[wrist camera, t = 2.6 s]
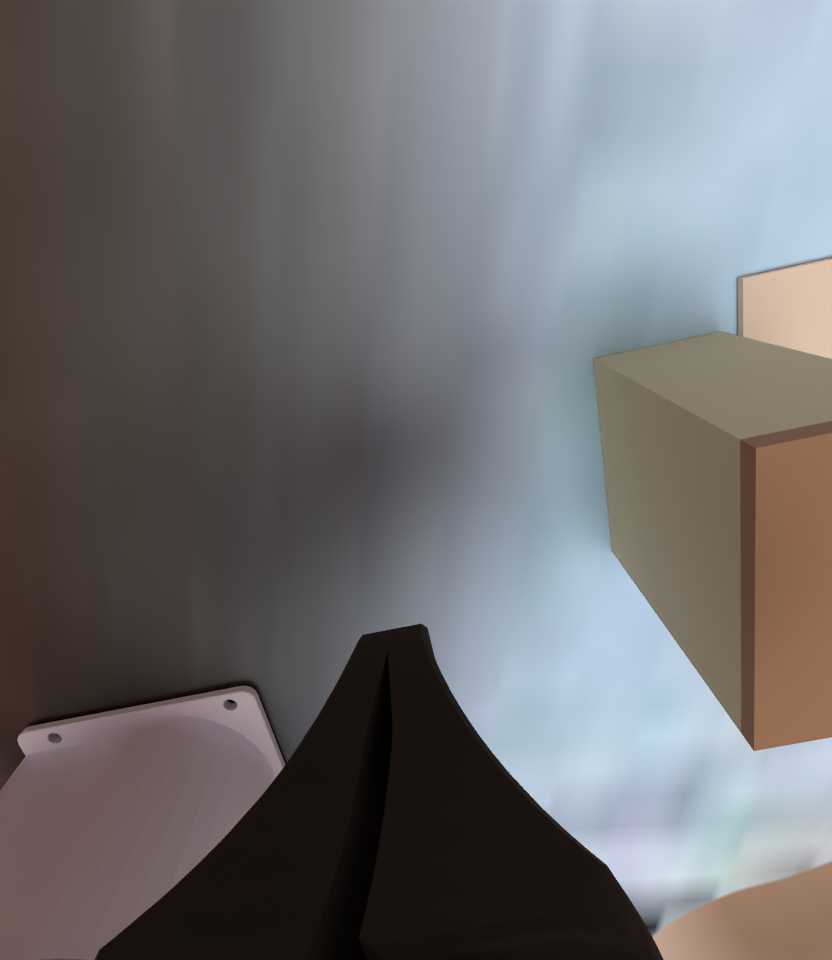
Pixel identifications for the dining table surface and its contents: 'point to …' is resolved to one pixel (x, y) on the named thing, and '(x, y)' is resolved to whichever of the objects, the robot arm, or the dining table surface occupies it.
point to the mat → (789, 307)
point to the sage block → (729, 517)
